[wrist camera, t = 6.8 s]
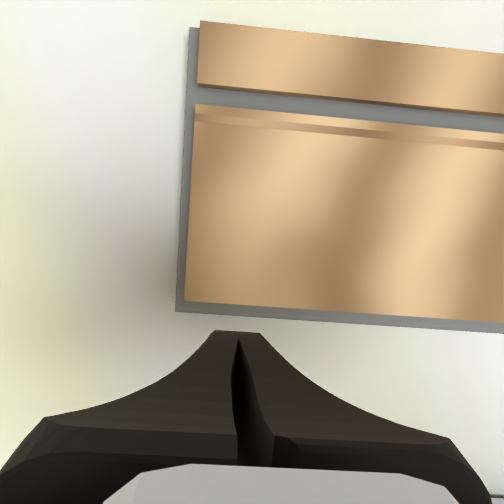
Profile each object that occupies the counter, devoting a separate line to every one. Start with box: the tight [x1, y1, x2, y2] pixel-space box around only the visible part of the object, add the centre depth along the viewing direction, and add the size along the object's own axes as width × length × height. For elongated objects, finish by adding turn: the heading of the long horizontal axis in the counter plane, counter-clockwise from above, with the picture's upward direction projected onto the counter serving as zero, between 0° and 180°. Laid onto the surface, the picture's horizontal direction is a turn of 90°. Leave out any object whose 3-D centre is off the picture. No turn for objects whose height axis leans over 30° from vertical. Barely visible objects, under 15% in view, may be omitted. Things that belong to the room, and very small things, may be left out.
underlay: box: [175, 27, 504, 334], centre depth 19 cm, size 16×12×1 cm
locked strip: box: [197, 21, 504, 118], centre depth 17 cm, size 15×2×1 cm, turn 85°
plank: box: [184, 104, 504, 323], centre depth 18 cm, size 15×8×1 cm, turn 85°
